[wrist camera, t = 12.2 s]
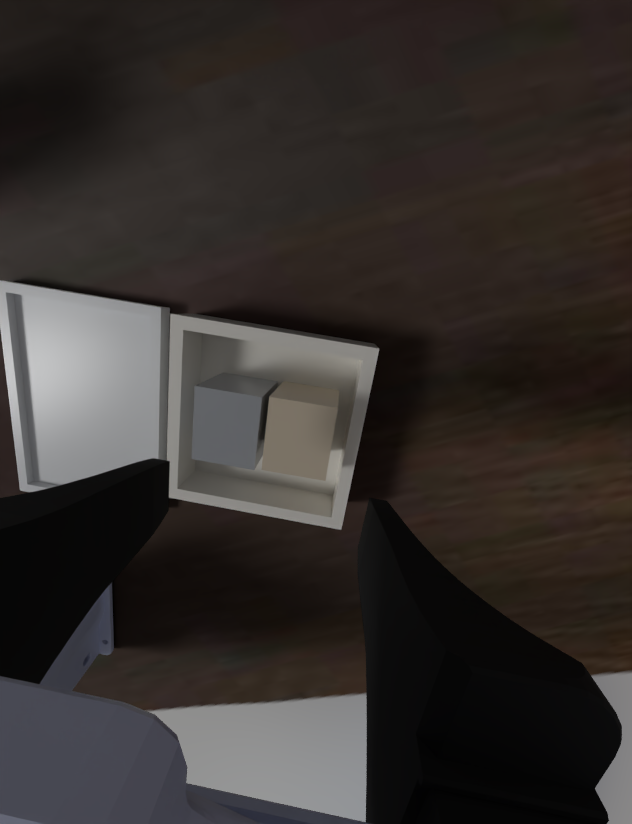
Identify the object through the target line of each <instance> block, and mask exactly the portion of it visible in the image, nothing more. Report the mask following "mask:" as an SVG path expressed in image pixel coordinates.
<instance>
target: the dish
mask: <svg viewBox="0 0 632 824" xmlns="http://www.w3.org/2000/svg"><path fill="white" fill-rule="evenodd" d="M378 353H379V348H378V347H377V346H376V345H375V344H374V343H368V342H362V341H356V340H350V339H344V338H338V337H332V336H326V335H320V334H314V333H308V332H302V331H296V330H290V329H284V328H278V327H272V326H266V325H260V324H254V323H248V322H242V321H236V320H230V319H224V318H218V317H212V316H206V315H200V314H170V351H169V389H168V428H167V461H170V472H169V498H174V499H180V500H185V501H190V502H196V503H201V504H206V505H212V506H217V507H222V508H228V509H233V510H238V511H244V512H249V513H254V514H260V515H265V516H270V517H276V518H281V519H286V520H292V521H297V522H302V523H308V524H313V525H318V526H324V527H329V528H334V529H340V530H341V528H342V524H343V519H344V514H345V509H346V505H347V500H348V495H349V491H350V486H351V481H352V476H353V472H354V467H355V462H356V457H357V453H358V448H359V443H360V438H361V434H362V429H363V424H364V420H365V415H366V410H367V405H368V401H369V396H370V391H371V386H372V382H373V377H374V372H375V367H376V363H377V358H378ZM223 372H224V373H230V374H236V375H242V376H248V377H254V378H260V379H266V380H272V381H278V385H277V388H278V387H279V386H280V385H281V383H282V382H283V381H287V382H293V383H299V384H305V385H311V386H317V387H324V388H330V389H336V390H339V401H338V411H337V417H336V422H335V428H334V434H333V440H332V446H331V451H330V457H329V463H328V469H327V474H326V480H325V481H323V480H317V479H311V478H305V477H300V476H294V475H288V474H282V473H276V472H271V471H265V470H261V469H262V460H263V456H262V458H261V459H260V461H259V463H258V465H257V466H256V468H255V470H251V469H245V468H239V467H234V466H228V465H223V464H217V463H211V462H206V461H200V460H195V459H191V458H192V435H193V413H194V391H195V385H198V384H200V383H202V382H204V381H206V380H208V379H210V378H212V377H214V376H217V375H219V374H221V373H223Z"/></svg>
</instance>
